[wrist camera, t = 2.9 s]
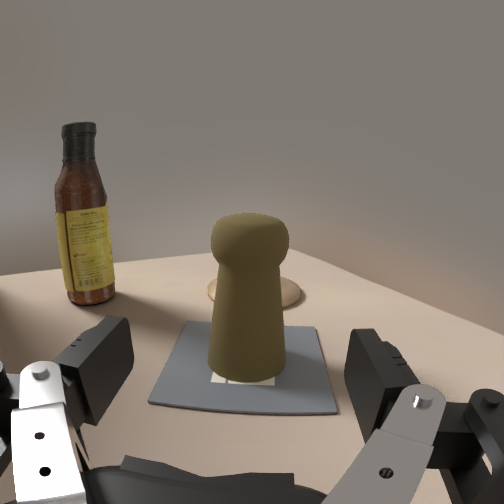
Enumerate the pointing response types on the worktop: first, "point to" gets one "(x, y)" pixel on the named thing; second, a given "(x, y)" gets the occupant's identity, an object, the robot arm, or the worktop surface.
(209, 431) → the worktop surface
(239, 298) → the pepper shaker
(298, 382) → the tile
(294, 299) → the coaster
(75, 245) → the sauce bottle
